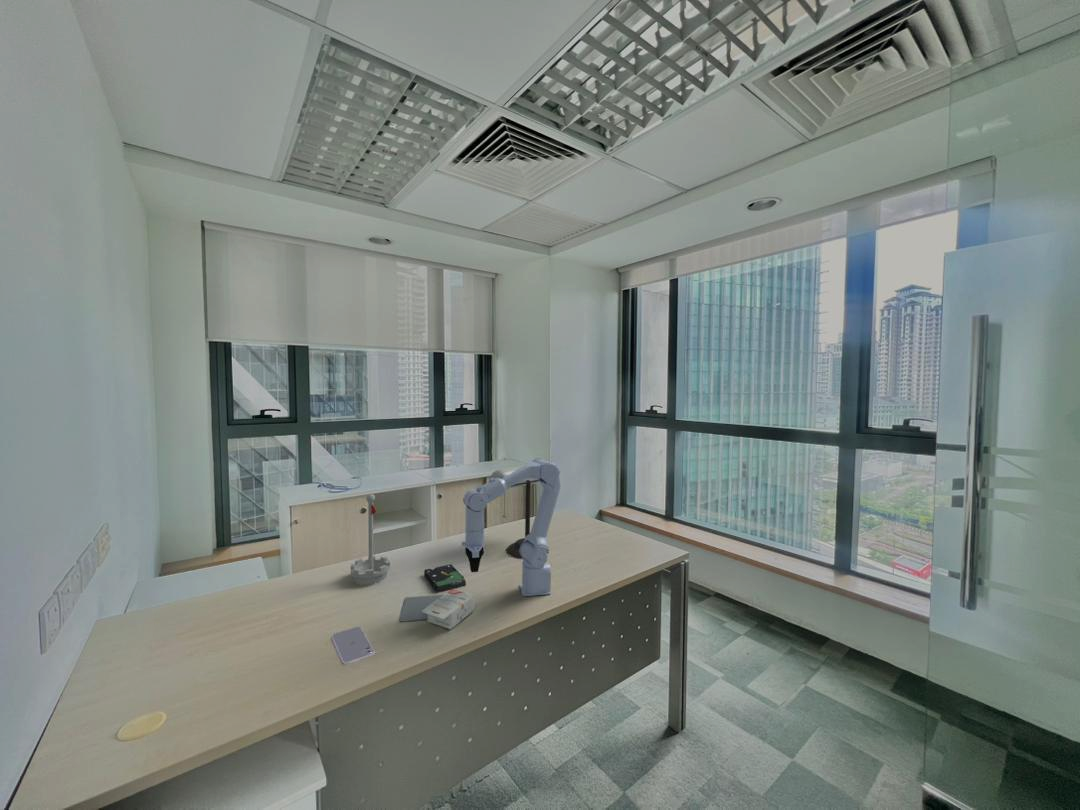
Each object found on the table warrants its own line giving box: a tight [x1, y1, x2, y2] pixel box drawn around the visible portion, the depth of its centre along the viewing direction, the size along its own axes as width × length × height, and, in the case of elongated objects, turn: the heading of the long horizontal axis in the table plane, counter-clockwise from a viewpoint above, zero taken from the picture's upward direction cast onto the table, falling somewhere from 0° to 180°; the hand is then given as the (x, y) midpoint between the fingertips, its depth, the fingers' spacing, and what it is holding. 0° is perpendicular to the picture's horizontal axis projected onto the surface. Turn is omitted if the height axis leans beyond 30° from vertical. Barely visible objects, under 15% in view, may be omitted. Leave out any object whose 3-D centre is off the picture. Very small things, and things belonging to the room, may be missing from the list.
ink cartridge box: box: [422, 589, 475, 630], centre depth 125 cm, size 9×5×15 cm
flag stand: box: [350, 493, 391, 586], centre depth 150 cm, size 13×13×30 cm
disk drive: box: [423, 563, 467, 594], centre depth 149 cm, size 10×3×15 cm
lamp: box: [488, 465, 549, 560], centre depth 179 cm, size 26×24×34 cm
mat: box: [399, 594, 444, 623], centre depth 131 cm, size 16×14×1 cm
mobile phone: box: [331, 626, 375, 664], centre depth 112 cm, size 8×1×15 cm
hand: (474, 571), depth 134 cm, fingers closed
